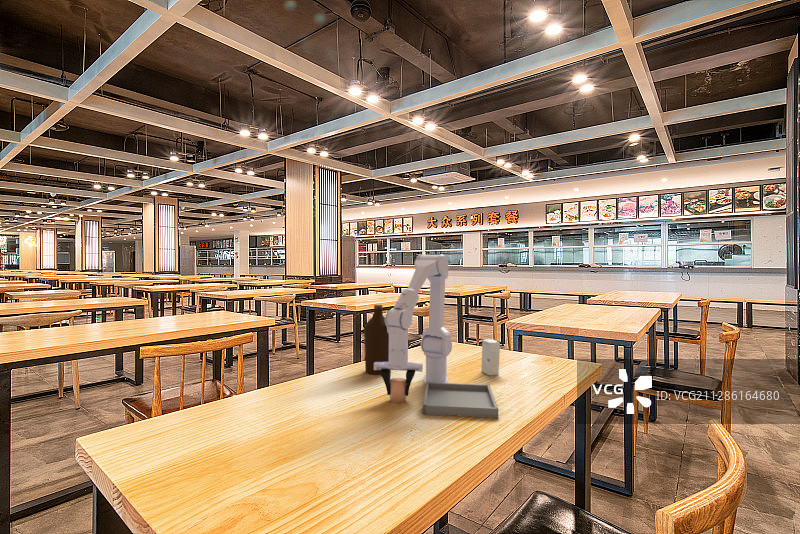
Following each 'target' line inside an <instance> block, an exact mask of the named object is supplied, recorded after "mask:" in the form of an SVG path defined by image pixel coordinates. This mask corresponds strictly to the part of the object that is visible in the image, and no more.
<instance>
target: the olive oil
mask: <svg viewBox="0 0 800 534" xmlns="http://www.w3.org/2000/svg"><path fill="white" fill-rule="evenodd" d="M383 311H384V310H383V304H374V305H373V315H372V317H371V318H370V319H369V320H368V321H367V322H366V324H365V325H364V328H363V329H364V330H363V339H364V361H365V362H364V363H365V366H364V368H365V373H367V374H369V375H374V376H375V375H376V376H377V375H379V376H381V370H374V363H375V362H389V333H388V332H387V326H386V324H385V317H386V316H384V315H383V313H384V312H383Z"/></svg>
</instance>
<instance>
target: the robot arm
mask: <svg viewBox="0 0 800 534" xmlns="http://www.w3.org/2000/svg"><path fill="white" fill-rule="evenodd" d="M448 278H449V260H448V258H447V256H446V255H445V254H418V255H417V256H416V259H415V260H414V272H413V274H412V277H411V280H410V281H409V284H408V287H407V288H405V289H403V290H402V291H401V292H400V295H399V297H398V299H397V300H396V303H395V304H394V306H393V307H392V308H391V309H389V310H388V311H387V312H386V314H385V316H384V317H385V324H386V326H387V332H388V333H389V362H375V363H374V370H381V375H380V377H382V378H381V379H382V380H383V382H384V384H385V388H386V394H387V395H388V396H390V379H391V376H392V375H391V373H392V371H405V379H406V397H408V396H409V394H410V393H409V391H410V387H411V383H412V381H413V379H414V377H415V374H416V372H420V373H423V369H424V368H423V363H417V362H410V361H409V358H408V357H409V350H408V349H409V329H410V328H411V325H412V324H413V323H412V322H413V316H414V309H415V307H416V305H417V304H418V302H419V300H420V296H419V292H420V291H421V289H422V287H423V285H424V284H425V282H426V281H427V280H428V282H429V283H430V284H429V285H430V286H429V288H430V289H429V310H428V311H429V313H428V316H429V317H428V327H427V328H426V329H424V330H423V331H422V335H421V339H420V349H421V351H422V352H423V355H424V356H425V374H424V381H423V384H426V382H431V383H449V382H448V380H449V379H448V375H447V373H448V372H447V365H448V363H447V359H448V358H447V357H448V356H449V355H450V354H451V352H452V349H453V341H452V333H450V331H449V330H447V329H446V328H445V326H444V325H445V322H444V321H445V298H446V297H445V296H446V279H448Z"/></svg>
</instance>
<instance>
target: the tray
mask: <svg viewBox="0 0 800 534" xmlns="http://www.w3.org/2000/svg"><path fill="white" fill-rule="evenodd" d="M423 396H424V397H423V402H422V404H423V405H422V410H423V411H422V414H424V415H426V416H443V415H460V416H459V417H464V416H472V417H471V418H484V417H487V419H488V418H489V419H499V406H498V404H497V402H496V399H495V396H494V394H493V391H492V388H491V386H490V384H481V383H480V384H478V383H457V382H455V383H453V382H452V383H451V382H450V383H449V382H448V383H431V382H426V383H425V389H424V395H423ZM424 415H423V416H424Z"/></svg>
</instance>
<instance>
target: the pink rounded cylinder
mask: <svg viewBox="0 0 800 534" xmlns="http://www.w3.org/2000/svg"><path fill="white" fill-rule="evenodd" d="M389 401H390V402H391V403H393V404H394V403H395V404H402V403H405V402H407V396H406V378H405V377H393V378H390V395H389Z"/></svg>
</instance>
